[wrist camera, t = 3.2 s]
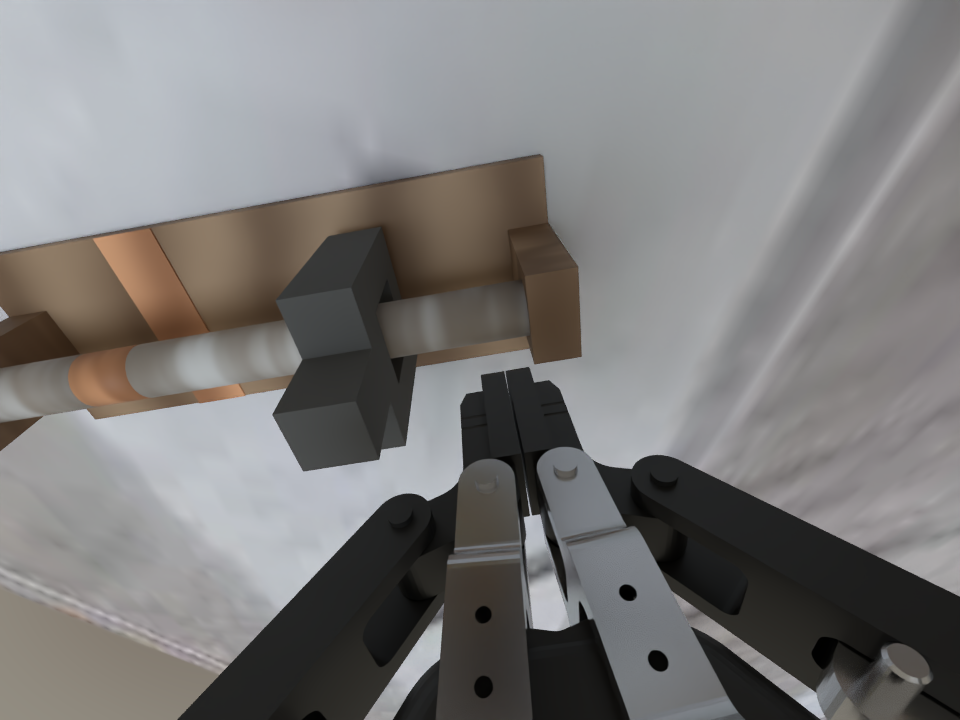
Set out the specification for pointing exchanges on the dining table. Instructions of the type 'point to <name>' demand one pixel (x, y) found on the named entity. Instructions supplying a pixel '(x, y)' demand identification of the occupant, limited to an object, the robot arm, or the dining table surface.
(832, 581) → the robot arm
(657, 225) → the dining table surface
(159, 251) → the rail
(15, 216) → the dining table surface
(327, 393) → the collar
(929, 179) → the dining table surface
